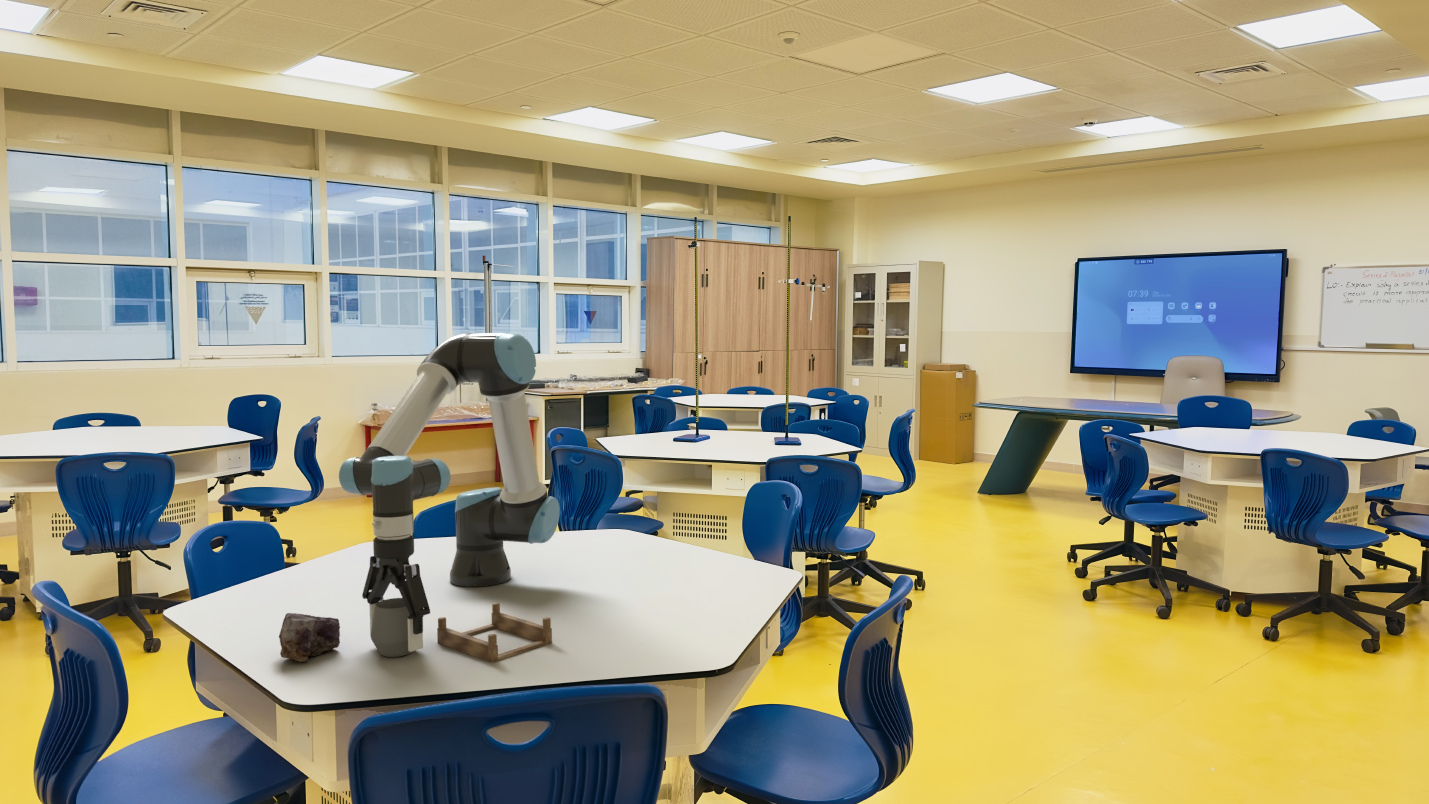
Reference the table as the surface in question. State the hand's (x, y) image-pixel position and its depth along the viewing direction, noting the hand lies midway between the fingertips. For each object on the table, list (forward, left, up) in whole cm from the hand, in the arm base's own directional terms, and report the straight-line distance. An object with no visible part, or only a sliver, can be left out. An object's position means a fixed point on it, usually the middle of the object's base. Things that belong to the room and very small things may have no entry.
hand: (396, 642), depth 183 cm
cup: (0, 0, -2) cm, 2 cm away
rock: (-13, -12, -2) cm, 18 cm away
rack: (+10, +16, -2) cm, 19 cm away
